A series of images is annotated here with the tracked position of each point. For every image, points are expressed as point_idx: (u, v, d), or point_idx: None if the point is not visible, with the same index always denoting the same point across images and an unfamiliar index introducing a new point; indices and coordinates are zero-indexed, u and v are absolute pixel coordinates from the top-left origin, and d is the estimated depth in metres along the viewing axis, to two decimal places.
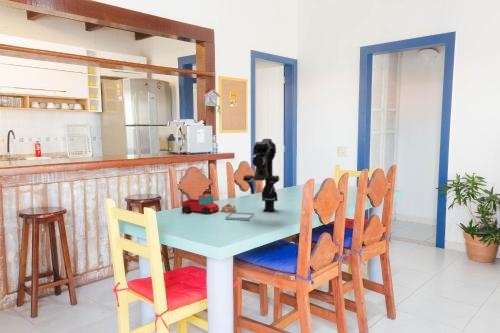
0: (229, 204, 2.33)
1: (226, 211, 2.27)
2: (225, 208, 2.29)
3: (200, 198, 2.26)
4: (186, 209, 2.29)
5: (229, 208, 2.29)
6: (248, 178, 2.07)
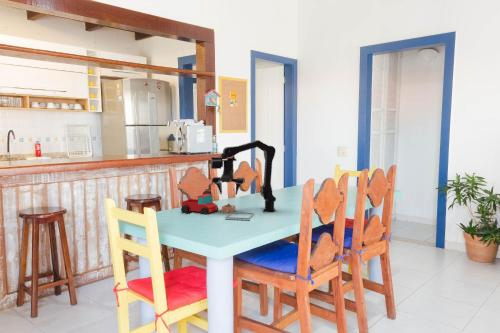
0: (229, 204, 2.33)
1: (226, 211, 2.27)
2: (225, 208, 2.29)
3: (199, 198, 2.26)
4: (185, 208, 2.30)
5: (229, 208, 2.29)
6: (216, 180, 2.29)
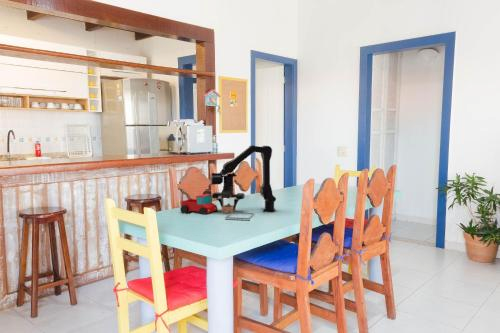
0: (229, 204, 2.33)
1: (226, 211, 2.27)
2: (225, 208, 2.29)
3: (198, 198, 2.26)
4: (184, 208, 2.30)
5: (229, 208, 2.29)
6: (216, 195, 2.30)
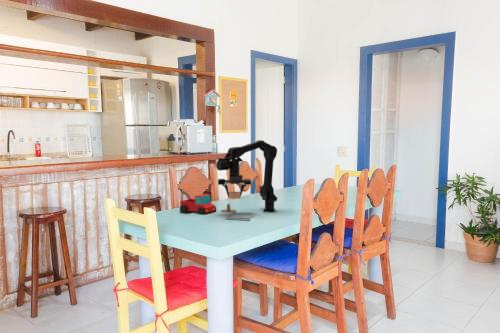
0: (229, 204, 2.33)
1: (234, 197, 2.19)
2: (232, 194, 2.21)
3: (196, 198, 2.26)
4: (183, 208, 2.30)
5: (237, 194, 2.21)
6: (223, 182, 2.20)
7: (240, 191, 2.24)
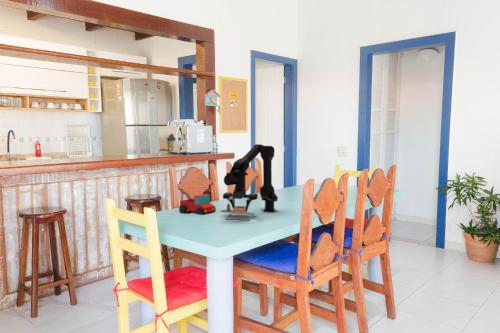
0: (229, 204, 2.33)
1: (238, 212, 2.14)
2: (237, 209, 2.15)
3: (195, 198, 2.26)
4: (183, 208, 2.31)
5: (241, 209, 2.15)
6: (227, 196, 2.16)
7: (246, 206, 2.17)
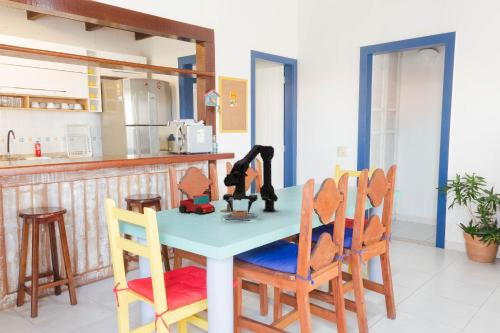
0: None
1: (238, 217, 2.14)
2: (237, 214, 2.16)
3: (194, 198, 2.26)
4: (182, 208, 2.31)
5: (241, 214, 2.15)
6: (227, 197, 2.16)
7: (248, 207, 2.17)
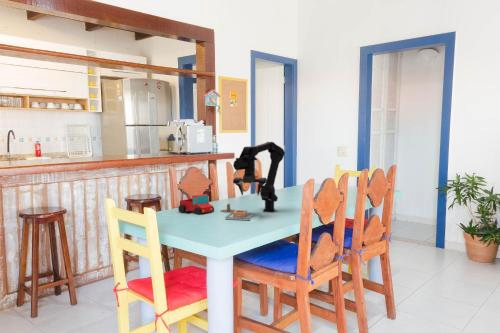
0: (229, 204, 2.33)
1: (238, 217, 2.14)
2: (237, 214, 2.16)
3: (193, 198, 2.26)
4: (182, 208, 2.32)
5: (241, 214, 2.15)
6: (237, 181, 2.23)
7: None
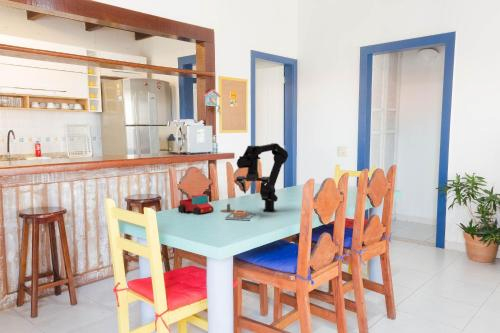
0: (229, 204, 2.33)
1: (238, 217, 2.14)
2: (237, 214, 2.16)
3: (193, 198, 2.26)
4: (181, 208, 2.32)
5: (241, 214, 2.15)
6: (240, 179, 2.25)
7: (260, 189, 2.26)
